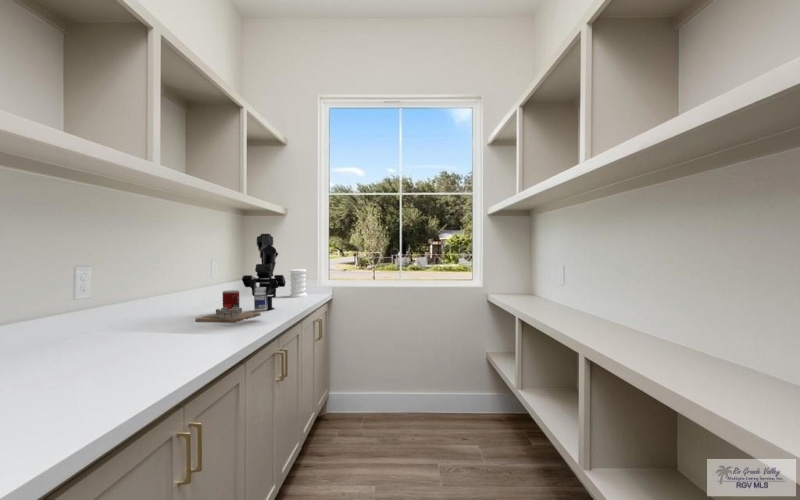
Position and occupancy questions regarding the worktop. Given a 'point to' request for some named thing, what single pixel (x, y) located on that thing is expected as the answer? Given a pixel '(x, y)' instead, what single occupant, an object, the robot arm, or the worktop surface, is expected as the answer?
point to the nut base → (230, 319)
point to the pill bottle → (260, 299)
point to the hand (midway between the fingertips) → (259, 295)
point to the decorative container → (298, 283)
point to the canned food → (230, 299)
